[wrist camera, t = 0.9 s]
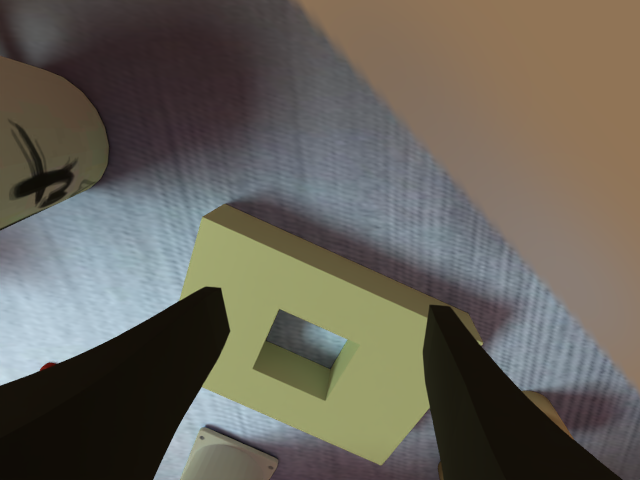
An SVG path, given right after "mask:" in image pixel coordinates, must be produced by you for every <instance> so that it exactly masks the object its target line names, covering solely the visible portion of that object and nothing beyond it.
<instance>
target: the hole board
mask: <svg viewBox="0 0 640 480" xmlns="http://www.w3.org/2000/svg"><path fill="white" fill-rule="evenodd" d="M205 286H208V287H220V288H221V290H222V294H223V299H224V304H225V308H226V313H227V318H228V322H229V327H230V333H229V336H228V338H227V341H226V343H225V346H224V348H223V350H222V352H221V354H220V357H219V358H218V360H217V362H216V364H215V365H214V367H213V369H212V370H211V372H210V374H209V376H208V377H207V379H206V381H205V382H204V384H203V386H202V387H203V388H205V389H208V390H210V391H212V392H215V393H217V394H219V395H221V396H224V397H226V398H228V399H231V400H233V401H235V402H237V403H240V404H242V405H244V406H246V407H249V408H251V409H253V410H256V411H258V412H260V413H262V414H265V415H267V416H269V417H272V418H274V419H276V420H278V421H281V422H283V423H285V424H288V425H290V426H292V427H294V428H297V429H299V430H301V431H303V432H306V433H308V434H310V435H313V436H315V437H317V438H319V439H322V440H324V441H326V442H329V443H331V444H333V445H335V446H338V447H340V448H342V449H345V450H347V451H349V452H351V453H354V454H356V455H358V456H360V457H363V458H365V459H367V460H370V461H372V462H374V463H376V464H379V465H382V464H383V463H384V462H385V461H386V459H387V458H388V457H389V456H390V455H391V453H392V452H393V451H394V450H395V449H396V447H397V446H398V445H399V444H400V443H401V441H402V440H403V439H404V438H405V437H406V435H407V434H408V433H409V432H410V431H411V429H412V428H413V427H414V426H415V425H416V423H417V422H418V421H419V420H420V419H421V417H422V416H423V415H424V414H425V413H426V411H427V410H428V409H429V408H430V405H429V400H428V395H427V390H426V385H425V376H424V365H423V345H424V338H425V332H426V325H427V318H428V311H429V305H442V306H450V305H448V304H446V303H444V302H442V301H439V300H437V299H435V298H433V297H430V296H428V295H426V294H424V293H422V292H419V291H417V290H415V289H413V288H410V287H408V286H406V285H404V284H402V283H399V282H397V281H395V280H393V279H390V278H388V277H386V276H384V275H382V274H379V273H377V272H375V271H373V270H371V269H368V268H366V267H364V266H362V265H359V264H357V263H355V262H353V261H351V260H348V259H346V258H344V257H342V256H339V255H337V254H335V253H333V252H331V251H328V250H326V249H324V248H322V247H320V246H317V245H315V244H313V243H311V242H308V241H306V240H304V239H302V238H300V237H297V236H295V235H293V234H291V233H288V232H286V231H284V230H282V229H280V228H277V227H275V226H273V225H271V224H268V223H266V222H264V221H262V220H260V219H257V218H255V217H253V216H251V215H249V214H246V213H244V212H242V211H240V210H237V209H235V208H233V207H231V206H229V205H226V204H223V205H222V206H220V207H218V208H217V209H215V210H213V211H211V212H210V213H208V214H206V215H205V216H203V217H202V220H201V224H200V227H199V231H198V235H197V238H196V242H195V246H194V249H193V253H192V256H191V260H190V264H189V267H188V271H187V275H186V278H185V282H184V286H183V289H182V293H181V297H180V300H182V299H184V298H185V297H187V296H189V295H190V294H192V293H194V292H196V291H198V290H199V289H201V288H203V287H205ZM180 300H179V301H180ZM450 307H451V308H452V309H453V310H454V312H455V313H456V314H457V316H458V317H459V318H460V320H461V321H462V322H463V324H464V325H465V326H466V328H467V329H468V330H469V332H470V333H471V334H472V335H473V337H474V338H475V339H476V340H477V342H478V343H479V344H480V345H481V346H482V344H483V341H482V339H481V337H480V335H479V333H478V331H477V330H476V328H475V326H474V324H473V322H472V320H471V318H470V316H469V314H468V313H466V312H464V311H461V310H459V309H457V308H455V307H453V306H450ZM279 309H281V310H283V311H285V312H288V313H290V314H292V315H294V316H297V317H299V318H301V319H303V320H306V321H308V322H310V323H312V324H315V325H317V326H319V327H321V328H323V329H326V330H328V331H330V332H332V333H335V334H337V335H339V336H341V337H344V338H346V339H348V340H347V342H346V344H345V345H344V347H343V349H342V350H341V352H340V354H339V355H338V357H337V359H336V360H335V362H334V364H333V366H332V367H331V369H329V368H326V367H324V366H322V365H319V364H317V363H315V362H313V361H310V360H308V359H306V358H304V357H301V356H299V355H297V354H295V353H292V352H290V351H288V350H286V349H283V348H281V347H279V346H277V345H274V344H272V343H270V342H268V341H266V338H267V336H268V334H269V332H270V329H271V327H272V325H273V323H274V320H275V318H276V316H277V314H278V311H279Z"/></svg>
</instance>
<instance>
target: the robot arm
mask: <svg viewBox="0 0 640 480" xmlns="http://www.w3.org/2000/svg"><path fill="white" fill-rule="evenodd" d="M229 333H230V327H229V322H228V318H227V313H226V308H225V304H224V299H223V294H222V290H221V288H220V287H208V286H205V287H203V288H201V289H199V290H198V291H196V292H194V293H192V294H190V295H189V296H187V297H185V298H184V299H182V300H180V301H178V302H177V303H175V304H173V305H172V306H170V307H168V308H167V309H165V310H163V311H162V312H160V313H158V314H157V315H155V316H153V317H151V318H150V319H148V320H146V321H144V322H142V323H141V324H139V325H137V326H135V327H133V328H132V329H130V330H128V331H126V332H124V333H122V334H121V335H119V336H117V337H115V338H113V339H111V340H109V341H107V342H105V343H103V344H101V345H99V346H97V347H95V348H93V349H90V350H88V351H86V352H84V353H82V354H80V355H77V356H75V357H73V358H71V359H68V360H66V361H63V362H61V363H58V364H56V365H53V366H51V367H48V368H46V369H44V370H41V371H39V372H36V373H34V374H31V375H29V376H26V377H23V378H20V379H18V380H15V381H12V382H9V383H7V384H4V385H1V386H0V480H153V479H154V476H155V474H156V472H157V470H158V468H159V465H160V463H161V461H162V459H163V457H164V455H165V453H166V451H167V449H168V446H169V444H170V442H171V440H172V438H173V436H174V434H175V432H176V430H177V428H178V426H179V424H180V423H181V421H182V419H183V417H184V415H185V414H186V412H187V410H188V409H189V407H190V405H191V404H192V402H193V400H194V399H195V397H196V395H197V394H198V392H199V390H200V389H201V387H202V386H203V384H204V382H205V381H206V379H207V377H208V376H209V374H210V372H211V370H212V369H213V367H214V365H215V364H216V362H217V360H218V358H219V357H220V354H221V352H222V350H223V348H224V346H225V343H226V341H227V338H228V336H229ZM423 365H424V376H425V385H426V390H427V395H428V400H429V405H430V410H431V415H432V420H433V425H434V430H435V435H436V440H437V445H438V450H439V454H440V460H441V466H442V472H443V479H444V480H622V479H621V478H620V477H619V476H617V475H616V474H615V473H613V472H612V471H611V470H610V469H608V468H607V467H606V466H605V465H603V464H602V463H601V462H600V461H599V460H597V459H596V458H595V457H594V456H593V455H591V454H590V453H589V452H588V451H587V450H585V449H584V448H583V447H582V446H581V445H580V444H578V443H577V442H576V441H575V440H574V439H572V438H571V437H570V436H569V435H568V434H567V433H565V432H564V431H563V430H562V429H561V428H560V427H559V426H558V425H556V424H555V423H554V422H553V421H552V420H551V419H550V418H549V417H548V416H547V415H546V414H545V413H544V412H543V411H541V410H540V409H539V408H538V407H537V406H536V405H535V404H534V403H533V402H532V401H531V400H530V399H529V398H528V397H527V396H526V395H525V394H524V393H523V392H522V391H521V390H520V389H519V388H518V387H517V386H516V385H515V384H514V383H513V382H512V381H511V380H510V378H509V377H508V376H507V375H506V374H505V373H504V372H503V371H502V370H501V369H500V368H499V366H498V365H497V364H496V363H495V362H494V361H493V359H492V358H491V357H490V356H489V355H488V354H487V352H486V351H485V350H484V349H483V348H482V347H481V345H480V344H479V343H478V342H477V340H476V339H475V338H474V337H473V335H472V334H471V333H470V332H469V330H468V329H467V328H466V326H465V325H464V324H463V322H462V321H461V320H460V318H459V317H458V316H457V314H456V313H455V312H454V310H453V309H452V308H451V307H450V306H442V305H429V311H428V318H427V325H426V332H425V338H424V345H423ZM277 466H278V460H277V459H276V458H275V457H272V456H270V455H268V454H266V453H263V452H261V451H259V450H256V449H254V448H252V447H249V446H247V445H245V444H243V443H240V442H238V441H236V440H233V439H231V438H229V437H227V436H224V435H222V434H220V433H217V432H215V431H213V430H211V429H208V428H206V427H202V428H201V429H200V431H199V433H198V435H197V438H196V440H195V443H194V445H193V448H192V450H191V453H190V456H189V458H188V461H187V463H186V466H185V468H184V471H183V473H182V476H181V479H180V480H269V479H270V478H271V476H272V474H273V473H274V471H275V469H276V468H277Z"/></svg>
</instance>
